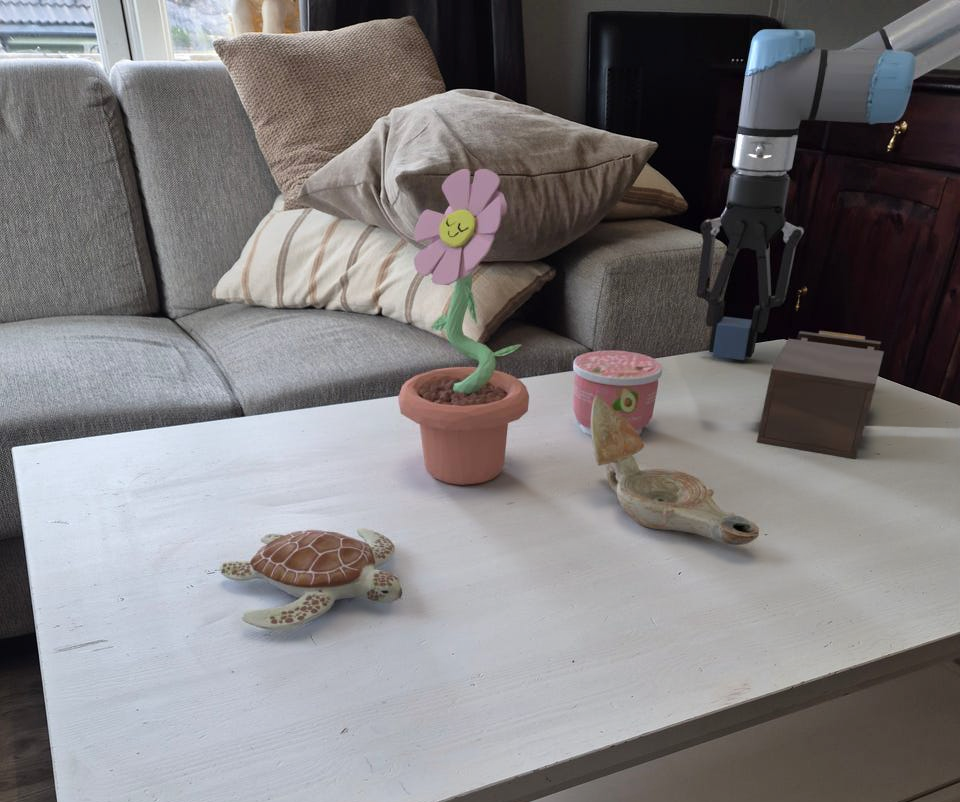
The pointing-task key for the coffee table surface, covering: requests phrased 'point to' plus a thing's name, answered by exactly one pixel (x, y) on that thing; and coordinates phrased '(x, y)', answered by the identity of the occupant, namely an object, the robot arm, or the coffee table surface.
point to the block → (732, 338)
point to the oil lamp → (659, 486)
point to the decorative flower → (463, 342)
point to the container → (616, 386)
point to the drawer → (839, 339)
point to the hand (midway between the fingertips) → (731, 351)
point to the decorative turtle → (317, 573)
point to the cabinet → (819, 397)
